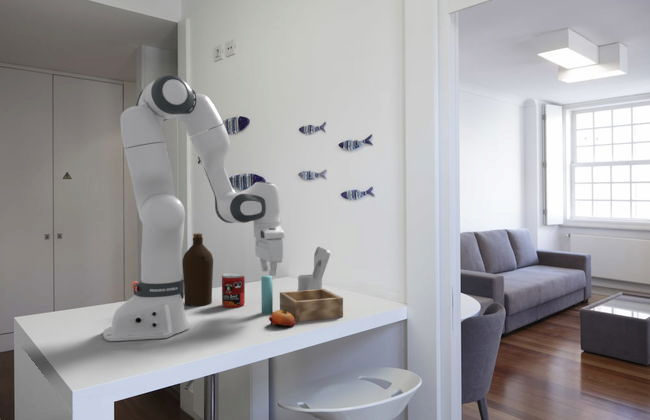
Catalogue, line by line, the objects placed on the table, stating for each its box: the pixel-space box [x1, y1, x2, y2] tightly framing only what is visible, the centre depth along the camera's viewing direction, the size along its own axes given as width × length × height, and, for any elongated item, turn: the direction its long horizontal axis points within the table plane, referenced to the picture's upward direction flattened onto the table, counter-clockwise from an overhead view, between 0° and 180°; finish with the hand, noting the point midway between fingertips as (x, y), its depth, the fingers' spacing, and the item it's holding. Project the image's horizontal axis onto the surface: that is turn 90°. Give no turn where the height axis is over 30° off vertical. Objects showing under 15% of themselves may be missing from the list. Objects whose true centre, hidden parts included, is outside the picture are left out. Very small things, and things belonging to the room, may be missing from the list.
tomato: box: [268, 308, 296, 328], centre depth 139 cm, size 8×7×7 cm
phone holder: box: [297, 246, 331, 291], centre depth 183 cm, size 17×10×18 cm, turn 15°
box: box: [279, 288, 344, 323], centre depth 153 cm, size 16×16×6 cm
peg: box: [261, 275, 274, 315], centre depth 153 cm, size 4×4×12 cm
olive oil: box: [182, 232, 214, 307], centre depth 167 cm, size 11×11×25 cm
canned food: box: [221, 272, 246, 309], centre depth 164 cm, size 8×8×11 cm
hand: (268, 273), depth 153 cm, fingers open, 8 cm apart
